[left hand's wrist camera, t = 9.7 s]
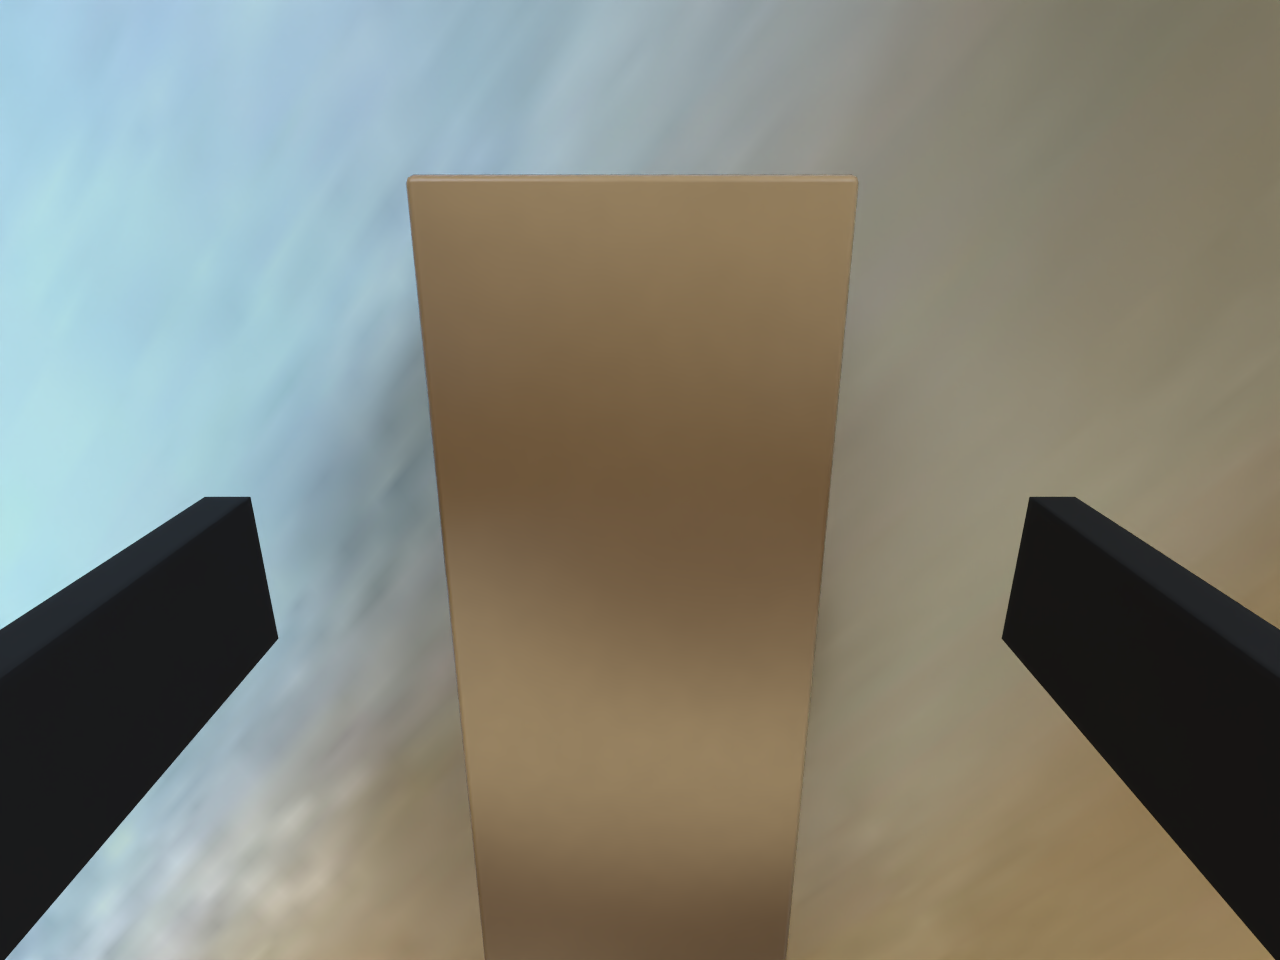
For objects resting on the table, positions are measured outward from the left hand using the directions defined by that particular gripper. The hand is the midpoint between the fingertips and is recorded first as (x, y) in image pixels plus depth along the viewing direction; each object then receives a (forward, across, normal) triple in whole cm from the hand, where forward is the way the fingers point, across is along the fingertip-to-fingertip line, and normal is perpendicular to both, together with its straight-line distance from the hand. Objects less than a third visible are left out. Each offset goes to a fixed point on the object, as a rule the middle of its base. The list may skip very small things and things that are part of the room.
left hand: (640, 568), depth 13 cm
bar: (+4, 0, -29) cm, 29 cm away
